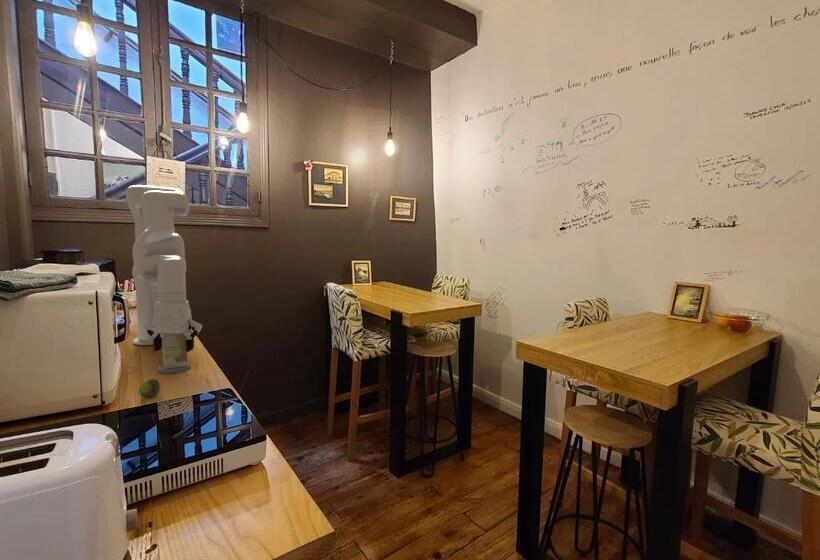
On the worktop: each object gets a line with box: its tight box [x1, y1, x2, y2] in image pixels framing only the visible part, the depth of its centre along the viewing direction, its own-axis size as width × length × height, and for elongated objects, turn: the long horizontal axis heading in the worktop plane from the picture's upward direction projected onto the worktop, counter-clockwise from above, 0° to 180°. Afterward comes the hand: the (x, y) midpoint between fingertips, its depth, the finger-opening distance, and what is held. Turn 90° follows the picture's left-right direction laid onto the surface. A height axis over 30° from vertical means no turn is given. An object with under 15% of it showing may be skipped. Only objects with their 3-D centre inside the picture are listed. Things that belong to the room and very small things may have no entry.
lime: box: [138, 378, 161, 399], centre depth 107 cm, size 4×5×5 cm
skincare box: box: [163, 334, 188, 369], centre depth 128 cm, size 6×4×12 cm
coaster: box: [157, 362, 192, 375], centre depth 128 cm, size 9×9×1 cm
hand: (174, 350), depth 128 cm, fingers open, 9 cm apart
